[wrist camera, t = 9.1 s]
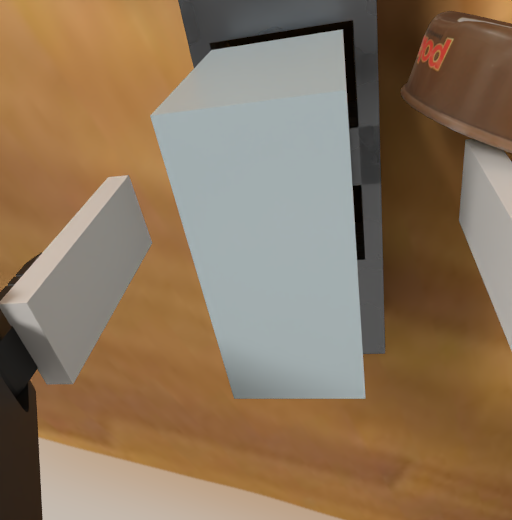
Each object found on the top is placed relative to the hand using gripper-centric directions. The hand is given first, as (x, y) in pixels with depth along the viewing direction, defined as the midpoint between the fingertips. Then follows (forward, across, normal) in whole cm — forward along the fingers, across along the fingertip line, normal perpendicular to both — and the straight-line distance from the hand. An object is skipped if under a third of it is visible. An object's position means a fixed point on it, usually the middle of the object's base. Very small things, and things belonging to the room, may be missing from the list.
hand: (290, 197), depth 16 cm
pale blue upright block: (+6, 0, 0) cm, 6 cm away
